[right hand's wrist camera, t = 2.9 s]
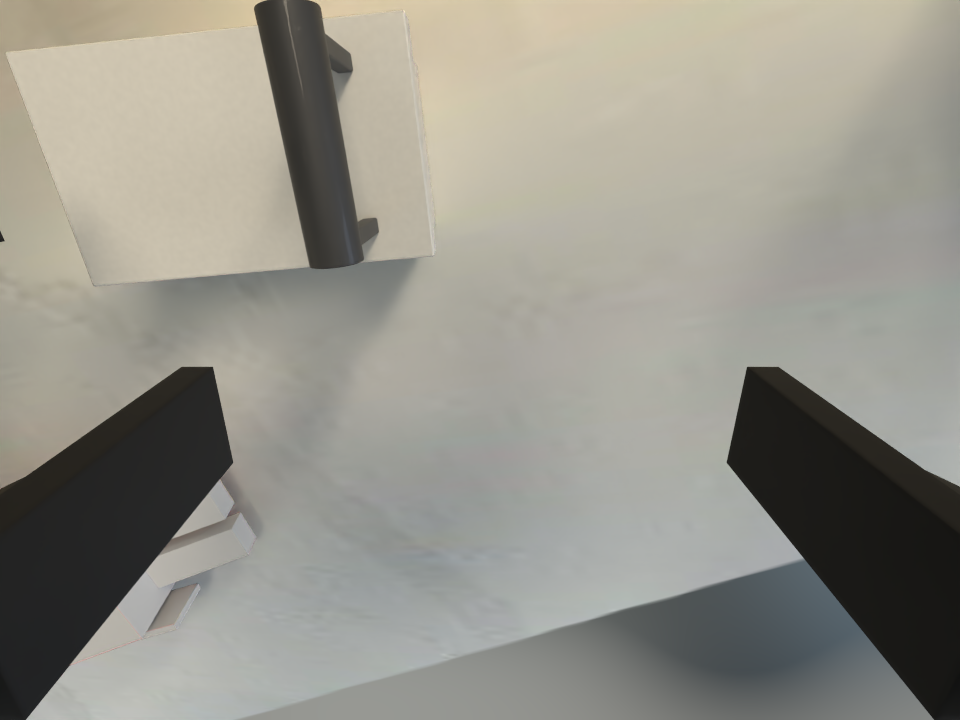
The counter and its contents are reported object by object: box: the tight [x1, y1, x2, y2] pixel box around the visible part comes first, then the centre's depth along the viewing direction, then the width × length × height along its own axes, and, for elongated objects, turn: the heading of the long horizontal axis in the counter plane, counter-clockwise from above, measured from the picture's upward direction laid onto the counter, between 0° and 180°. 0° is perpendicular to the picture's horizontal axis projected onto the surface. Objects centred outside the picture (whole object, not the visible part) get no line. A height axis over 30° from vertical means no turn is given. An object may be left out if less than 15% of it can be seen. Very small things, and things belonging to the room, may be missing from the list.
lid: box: [5, 0, 436, 286], centre depth 19 cm, size 16×10×8 cm, turn 95°
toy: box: [70, 480, 256, 665], centre depth 40 cm, size 12×13×30 cm
